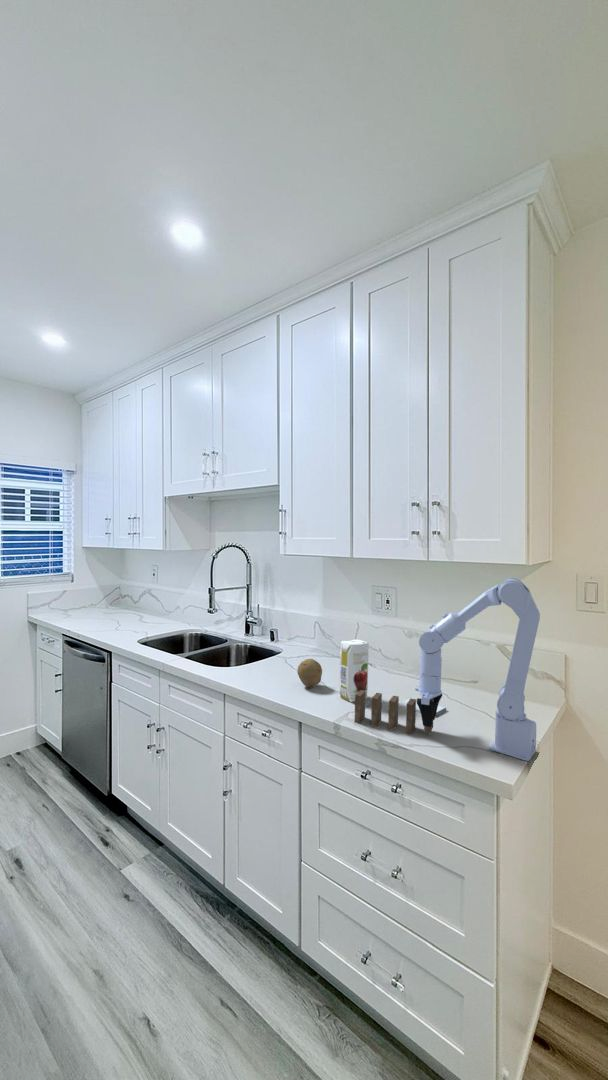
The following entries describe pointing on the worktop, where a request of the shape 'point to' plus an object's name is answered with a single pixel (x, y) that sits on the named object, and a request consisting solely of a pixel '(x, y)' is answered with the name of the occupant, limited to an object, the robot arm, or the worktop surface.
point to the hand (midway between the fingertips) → (429, 722)
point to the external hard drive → (404, 705)
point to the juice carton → (353, 668)
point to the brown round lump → (310, 672)
